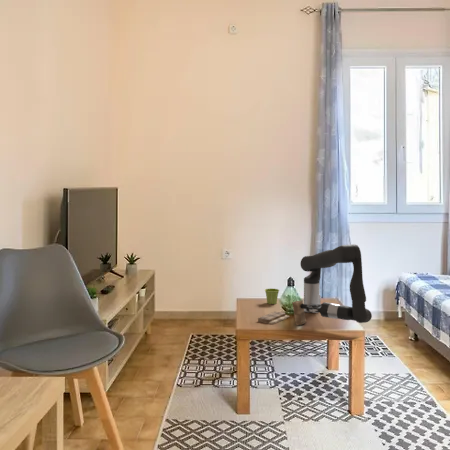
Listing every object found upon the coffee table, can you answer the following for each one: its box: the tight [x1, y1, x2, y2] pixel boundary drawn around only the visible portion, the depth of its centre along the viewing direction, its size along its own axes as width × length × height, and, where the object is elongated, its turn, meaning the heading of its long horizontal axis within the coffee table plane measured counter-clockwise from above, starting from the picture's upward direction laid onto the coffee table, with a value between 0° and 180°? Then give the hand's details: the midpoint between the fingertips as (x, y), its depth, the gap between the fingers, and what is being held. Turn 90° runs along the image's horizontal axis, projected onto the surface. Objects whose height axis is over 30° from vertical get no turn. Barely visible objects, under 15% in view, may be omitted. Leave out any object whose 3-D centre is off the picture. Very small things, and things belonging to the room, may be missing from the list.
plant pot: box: [264, 288, 280, 305], centre depth 304 cm, size 9×9×9 cm
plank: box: [292, 299, 307, 326], centre depth 254 cm, size 4×5×12 cm
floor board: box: [257, 311, 290, 325], centre depth 264 cm, size 18×10×2 cm, turn 143°
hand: (301, 305), depth 253 cm, fingers closed
